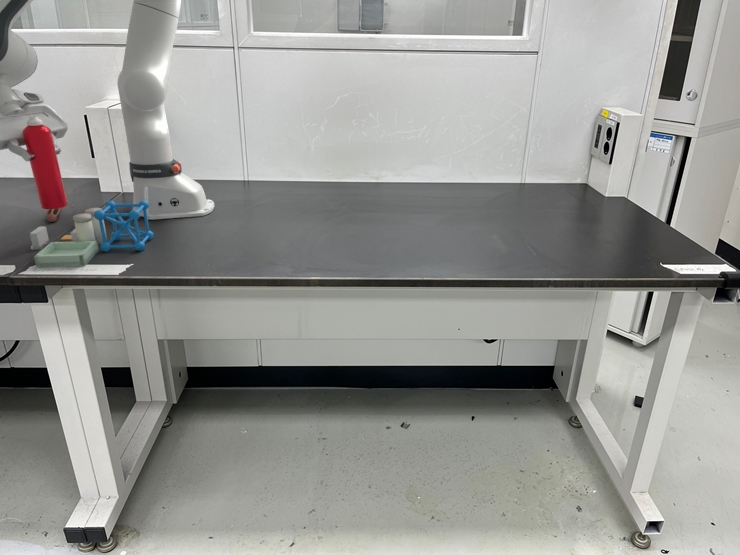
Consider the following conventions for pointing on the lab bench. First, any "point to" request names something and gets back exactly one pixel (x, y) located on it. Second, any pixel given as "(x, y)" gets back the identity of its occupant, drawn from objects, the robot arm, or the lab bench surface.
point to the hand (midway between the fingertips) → (44, 156)
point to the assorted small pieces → (69, 243)
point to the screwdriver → (53, 214)
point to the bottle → (45, 165)
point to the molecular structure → (124, 225)
